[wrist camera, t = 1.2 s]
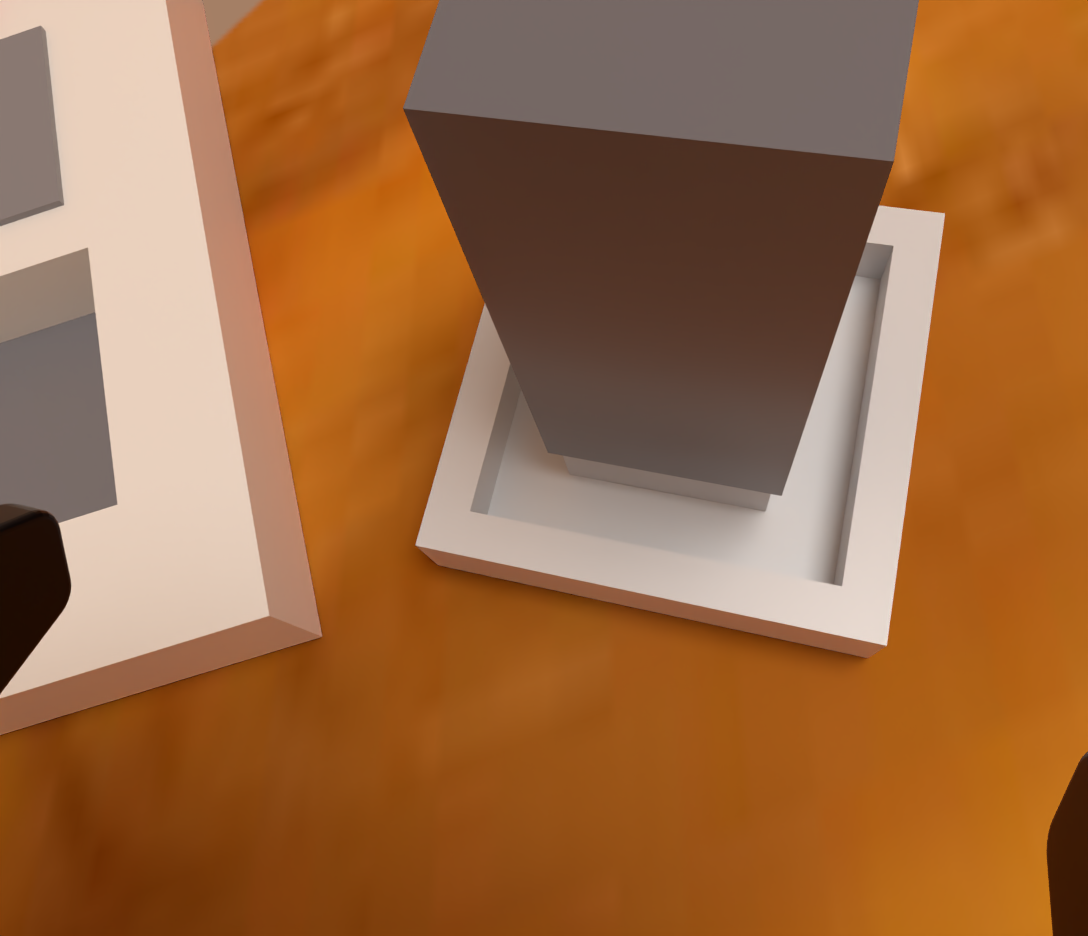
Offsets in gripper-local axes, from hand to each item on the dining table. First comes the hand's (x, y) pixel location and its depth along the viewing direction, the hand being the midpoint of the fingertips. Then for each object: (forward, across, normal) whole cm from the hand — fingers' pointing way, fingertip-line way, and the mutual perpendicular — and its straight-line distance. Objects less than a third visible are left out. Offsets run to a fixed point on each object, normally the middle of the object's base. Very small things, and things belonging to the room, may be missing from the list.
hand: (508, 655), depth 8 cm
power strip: (+14, +18, +5) cm, 24 cm away
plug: (+15, 0, +4) cm, 15 cm away
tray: (+15, 0, +4) cm, 16 cm away
